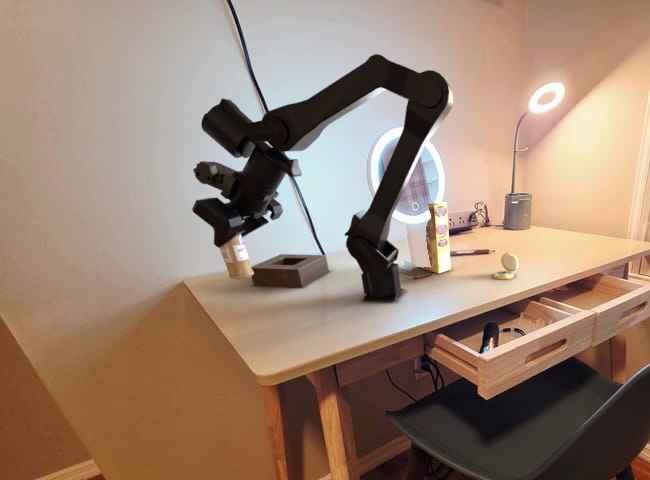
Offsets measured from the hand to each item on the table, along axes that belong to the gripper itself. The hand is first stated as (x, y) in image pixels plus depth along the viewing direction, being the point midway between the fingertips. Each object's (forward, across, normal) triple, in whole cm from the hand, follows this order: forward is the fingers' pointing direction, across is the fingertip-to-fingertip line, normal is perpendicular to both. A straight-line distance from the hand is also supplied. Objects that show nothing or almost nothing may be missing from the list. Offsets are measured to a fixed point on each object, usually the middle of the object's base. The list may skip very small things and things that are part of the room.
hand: (224, 243), depth 72 cm
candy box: (-18, -19, +34) cm, 44 cm away
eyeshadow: (-31, -13, +47) cm, 58 cm away
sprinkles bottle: (+4, 0, +6) cm, 7 cm away
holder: (+4, -12, +11) cm, 17 cm away
